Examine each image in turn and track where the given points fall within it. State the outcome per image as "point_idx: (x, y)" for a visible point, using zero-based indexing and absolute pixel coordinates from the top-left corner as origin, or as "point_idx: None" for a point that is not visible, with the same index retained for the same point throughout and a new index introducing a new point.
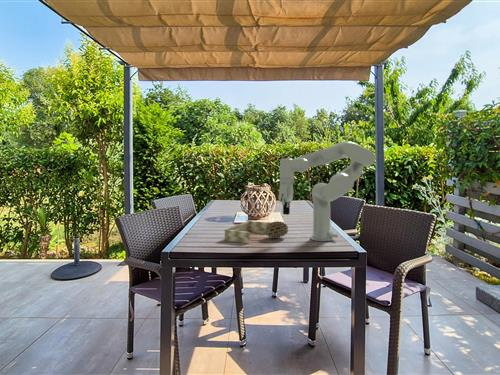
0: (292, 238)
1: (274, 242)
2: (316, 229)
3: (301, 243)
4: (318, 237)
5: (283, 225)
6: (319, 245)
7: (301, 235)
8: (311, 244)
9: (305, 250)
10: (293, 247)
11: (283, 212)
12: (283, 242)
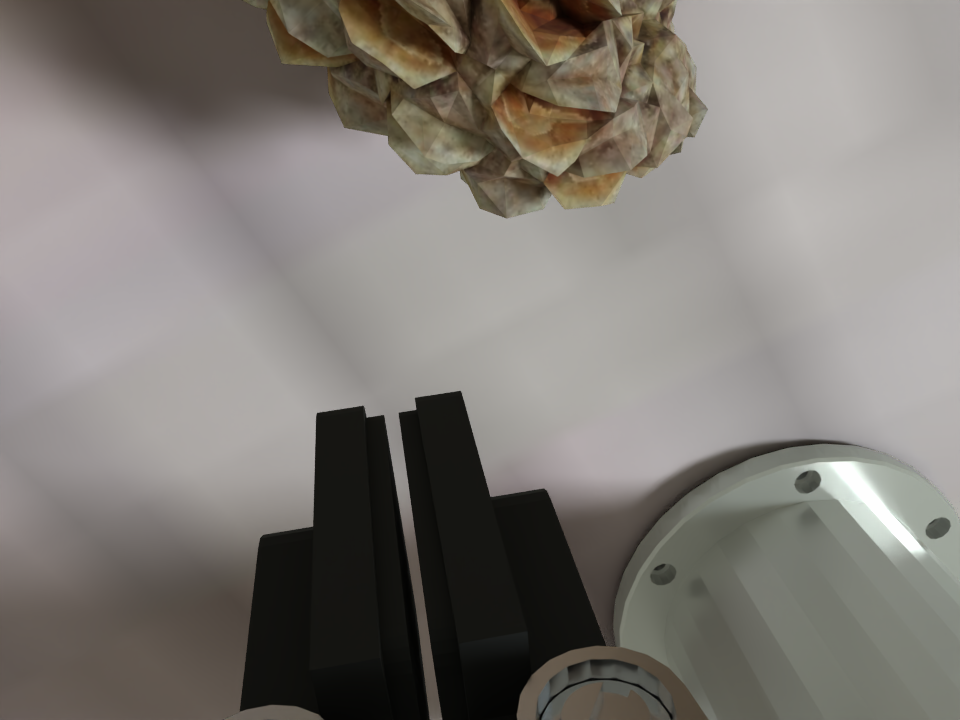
0: None
1: (87, 36)
2: (727, 714)
3: None
4: (669, 641)
5: (461, 159)
6: None
7: (885, 244)
8: None
9: (37, 697)
10: (47, 505)
11: (323, 467)
12: (216, 205)
